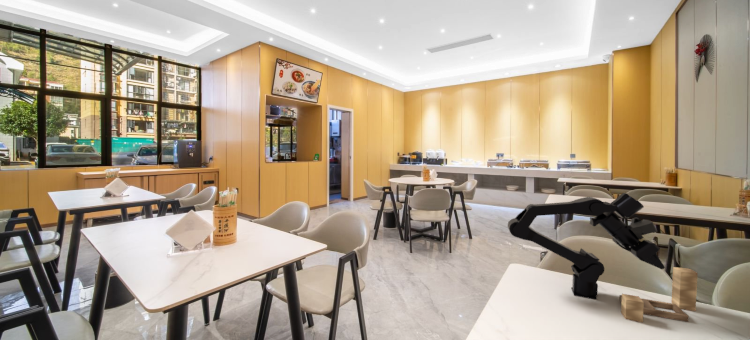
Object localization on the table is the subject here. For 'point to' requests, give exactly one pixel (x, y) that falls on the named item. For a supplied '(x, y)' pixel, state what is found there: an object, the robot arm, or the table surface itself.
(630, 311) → the short peg
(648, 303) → the socket board
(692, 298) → the long peg
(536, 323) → the table surface
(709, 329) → the table surface
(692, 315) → the table surface
